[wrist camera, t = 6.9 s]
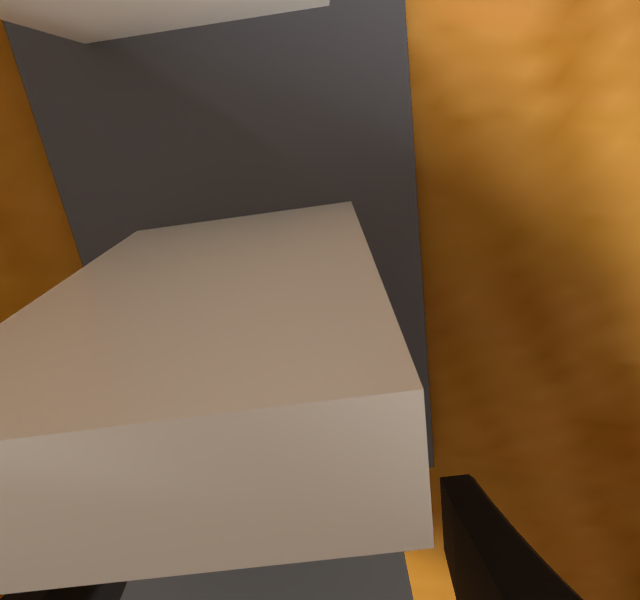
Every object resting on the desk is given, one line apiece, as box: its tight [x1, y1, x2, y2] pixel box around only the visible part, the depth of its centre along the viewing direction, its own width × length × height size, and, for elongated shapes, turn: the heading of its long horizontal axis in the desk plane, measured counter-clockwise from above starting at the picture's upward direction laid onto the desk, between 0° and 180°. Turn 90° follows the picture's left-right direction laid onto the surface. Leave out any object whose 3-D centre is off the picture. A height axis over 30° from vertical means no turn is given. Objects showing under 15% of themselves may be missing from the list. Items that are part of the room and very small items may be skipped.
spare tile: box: [120, 551, 413, 600], centre depth 10 cm, size 2×5×8 cm, turn 98°
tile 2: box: [0, 201, 434, 595], centre depth 8 cm, size 2×5×8 cm, turn 97°
